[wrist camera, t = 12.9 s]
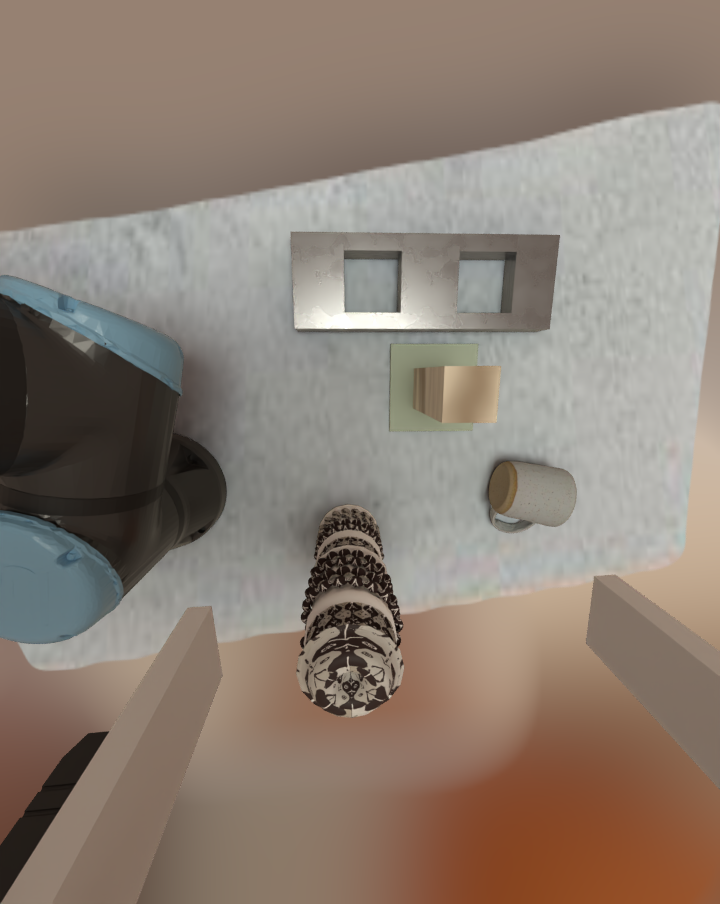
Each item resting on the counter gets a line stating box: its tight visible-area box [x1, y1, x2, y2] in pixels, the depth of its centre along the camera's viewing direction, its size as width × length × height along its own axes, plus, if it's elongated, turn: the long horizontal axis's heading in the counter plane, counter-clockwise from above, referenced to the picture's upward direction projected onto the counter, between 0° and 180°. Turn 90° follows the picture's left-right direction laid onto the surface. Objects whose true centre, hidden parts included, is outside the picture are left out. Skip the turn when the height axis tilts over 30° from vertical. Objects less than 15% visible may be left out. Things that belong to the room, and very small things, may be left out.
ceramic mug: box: [489, 461, 577, 533], centre depth 45 cm, size 11×8×8 cm
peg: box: [413, 366, 501, 423], centre depth 38 cm, size 5×5×14 cm
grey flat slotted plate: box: [291, 232, 560, 332], centre depth 41 cm, size 30×10×3 cm, turn 90°
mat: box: [389, 344, 478, 431], centre depth 45 cm, size 11×11×1 cm
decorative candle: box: [296, 504, 404, 718], centre depth 37 cm, size 9×9×25 cm
